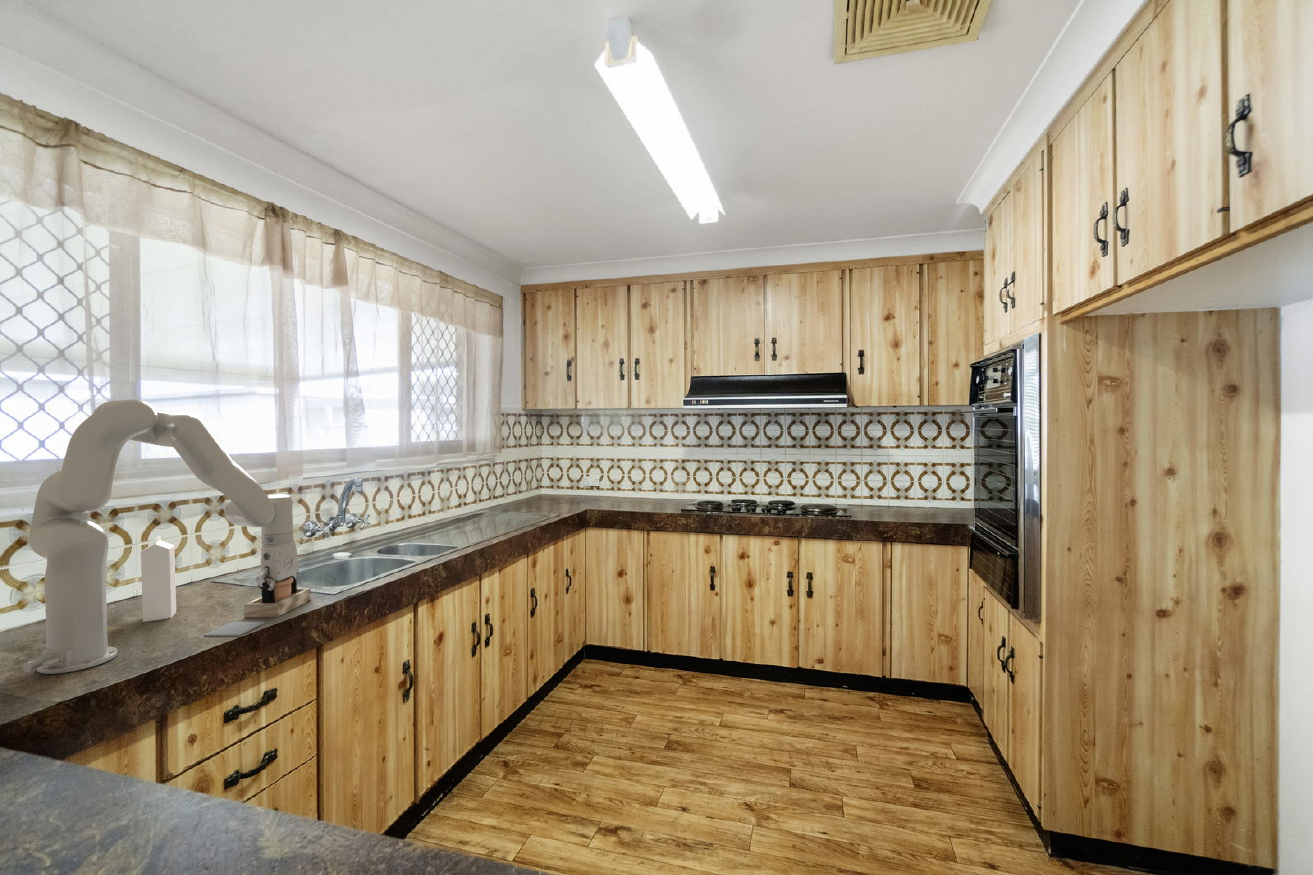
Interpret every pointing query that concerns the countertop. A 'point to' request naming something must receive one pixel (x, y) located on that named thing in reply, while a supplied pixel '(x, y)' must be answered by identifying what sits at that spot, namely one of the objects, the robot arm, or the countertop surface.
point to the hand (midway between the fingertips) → (280, 598)
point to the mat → (234, 629)
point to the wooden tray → (277, 605)
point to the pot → (282, 589)
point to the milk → (158, 581)
